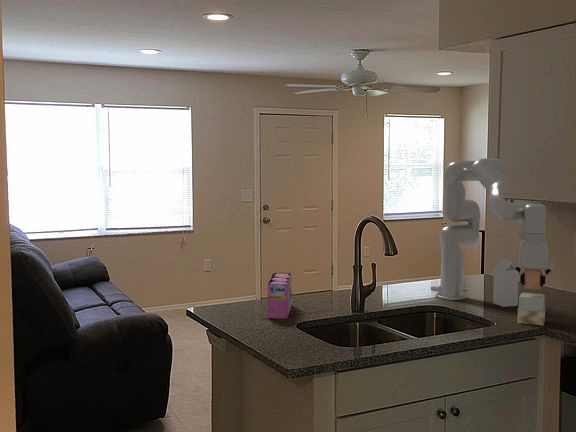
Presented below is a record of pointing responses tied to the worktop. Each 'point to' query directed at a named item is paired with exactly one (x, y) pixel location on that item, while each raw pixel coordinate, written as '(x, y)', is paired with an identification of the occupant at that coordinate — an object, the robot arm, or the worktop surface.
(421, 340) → the worktop surface
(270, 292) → the gum box
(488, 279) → the worktop surface
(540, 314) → the birch block
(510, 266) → the milk carton
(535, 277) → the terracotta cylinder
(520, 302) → the sage block
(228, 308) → the worktop surface
